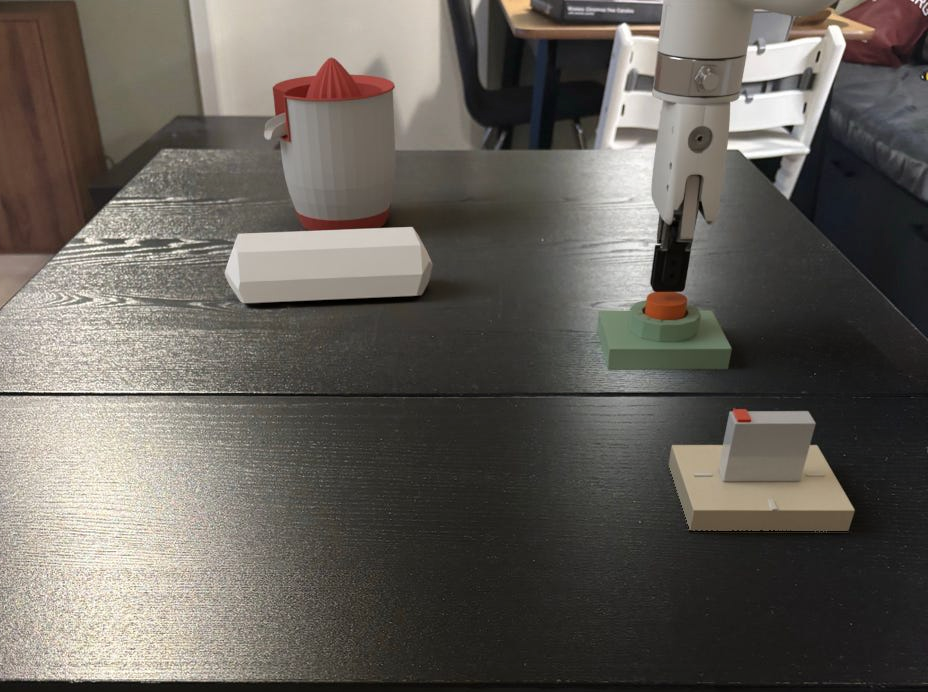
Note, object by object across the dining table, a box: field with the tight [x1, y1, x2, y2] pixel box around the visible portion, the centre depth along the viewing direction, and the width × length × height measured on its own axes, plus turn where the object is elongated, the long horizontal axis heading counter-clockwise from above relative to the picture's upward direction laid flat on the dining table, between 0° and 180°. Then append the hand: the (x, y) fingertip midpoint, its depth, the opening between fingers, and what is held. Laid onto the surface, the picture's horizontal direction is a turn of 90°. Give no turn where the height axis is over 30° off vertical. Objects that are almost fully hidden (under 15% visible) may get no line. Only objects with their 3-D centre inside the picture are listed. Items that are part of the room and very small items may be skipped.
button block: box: [596, 299, 733, 371], centre depth 96 cm, size 12×10×4 cm
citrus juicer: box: [263, 57, 397, 231], centre depth 123 cm, size 16×17×20 cm
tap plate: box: [668, 444, 856, 533], centre depth 74 cm, size 12×10×2 cm
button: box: [645, 291, 688, 320], centre depth 94 cm, size 4×4×2 cm
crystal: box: [224, 226, 434, 304], centre depth 108 cm, size 7×7×24 cm
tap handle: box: [718, 408, 817, 482], centre depth 72 cm, size 6×2×5 cm, turn 89°
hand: (666, 288), depth 93 cm, fingers closed
